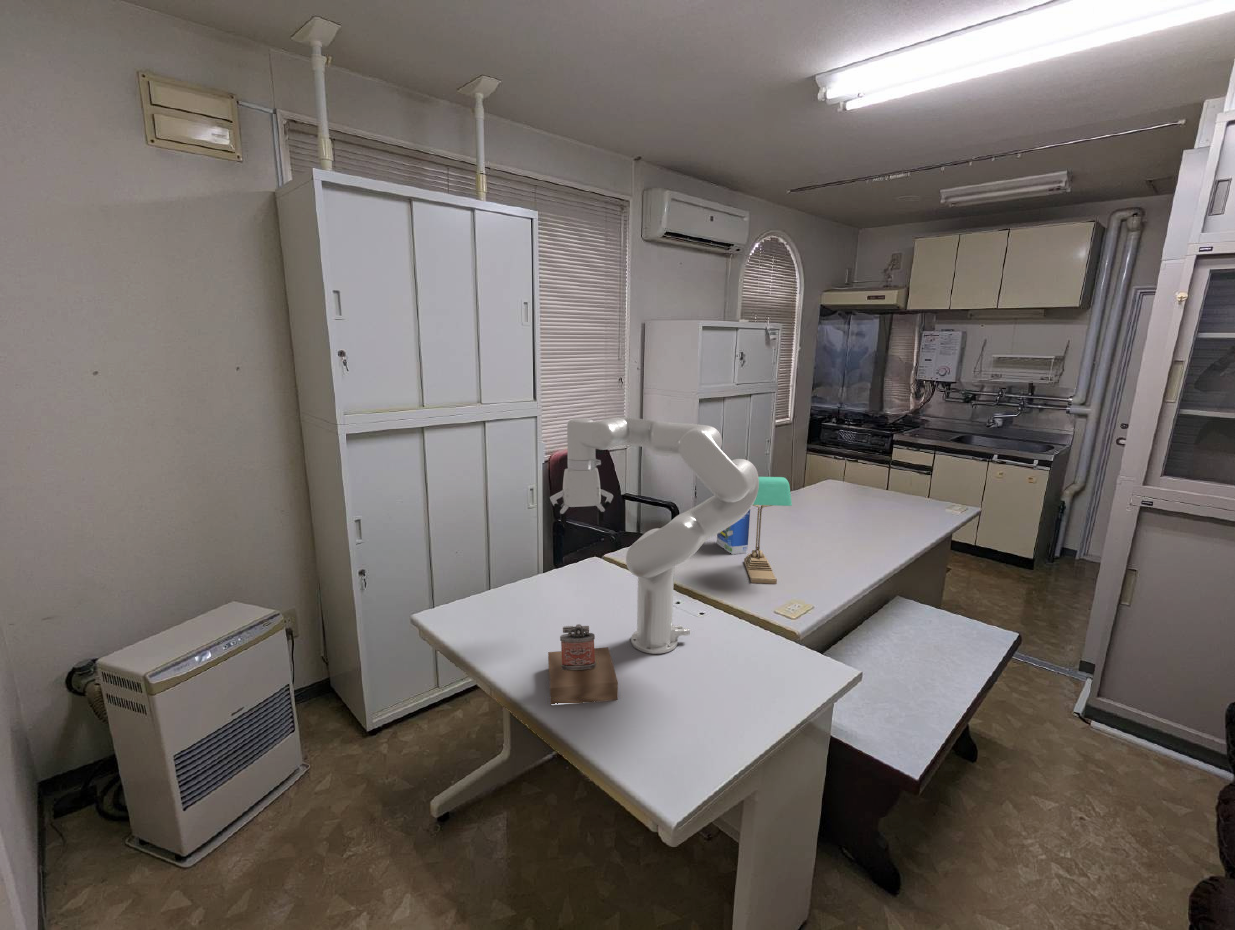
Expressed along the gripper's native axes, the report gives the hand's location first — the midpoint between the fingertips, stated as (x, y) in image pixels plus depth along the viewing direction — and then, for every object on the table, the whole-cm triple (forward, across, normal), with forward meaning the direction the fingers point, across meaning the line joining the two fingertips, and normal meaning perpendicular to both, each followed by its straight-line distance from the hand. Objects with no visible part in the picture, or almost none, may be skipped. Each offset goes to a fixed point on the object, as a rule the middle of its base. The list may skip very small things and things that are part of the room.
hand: (582, 525), depth 149 cm
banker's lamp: (+30, -67, -28) cm, 79 cm away
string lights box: (+31, -68, -54) cm, 91 cm away
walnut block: (+31, +4, +27) cm, 41 cm away
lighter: (+26, +4, +27) cm, 38 cm away
